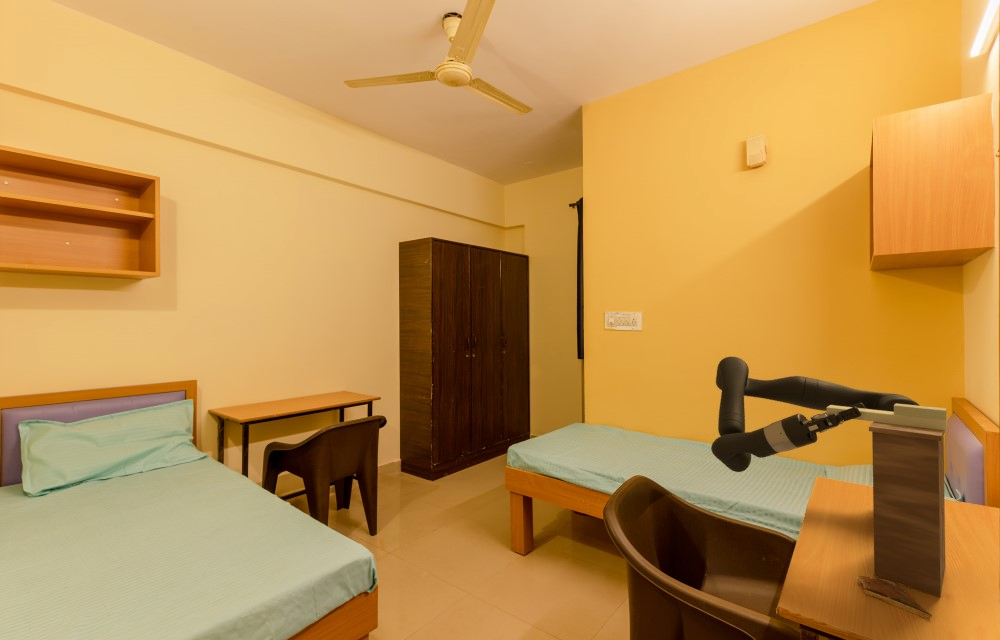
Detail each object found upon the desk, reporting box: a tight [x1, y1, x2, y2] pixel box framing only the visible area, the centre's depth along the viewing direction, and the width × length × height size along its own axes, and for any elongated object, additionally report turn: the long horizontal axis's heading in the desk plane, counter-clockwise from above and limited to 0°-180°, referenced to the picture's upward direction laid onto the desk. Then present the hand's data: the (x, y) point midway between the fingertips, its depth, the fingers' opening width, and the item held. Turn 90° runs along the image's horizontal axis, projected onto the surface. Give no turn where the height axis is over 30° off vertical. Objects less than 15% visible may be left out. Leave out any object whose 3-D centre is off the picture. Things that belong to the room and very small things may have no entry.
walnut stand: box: [868, 421, 946, 598], centre depth 95 cm, size 17×11×32 cm, turn 132°
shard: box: [857, 575, 933, 620], centre depth 86 cm, size 11×8×2 cm
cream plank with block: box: [826, 404, 948, 431], centre depth 99 cm, size 4×20×4 cm, turn 42°
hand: (861, 408), depth 101 cm, fingers open, 6 cm apart
